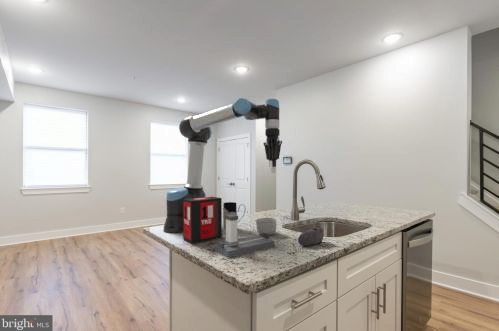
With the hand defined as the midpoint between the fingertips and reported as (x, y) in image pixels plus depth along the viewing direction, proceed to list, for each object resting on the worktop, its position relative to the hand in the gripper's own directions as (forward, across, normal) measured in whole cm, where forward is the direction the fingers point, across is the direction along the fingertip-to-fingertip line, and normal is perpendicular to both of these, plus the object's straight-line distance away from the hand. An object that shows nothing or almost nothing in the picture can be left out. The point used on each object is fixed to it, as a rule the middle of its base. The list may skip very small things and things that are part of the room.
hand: (272, 172), depth 131 cm
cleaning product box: (+33, +14, +34) cm, 49 cm away
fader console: (+32, -10, +25) cm, 42 cm away
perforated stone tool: (+33, -24, -2) cm, 41 cm away
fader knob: (+30, -10, +32) cm, 45 cm away
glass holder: (+33, +22, +10) cm, 41 cm away
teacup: (+33, +3, +2) cm, 33 cm away
